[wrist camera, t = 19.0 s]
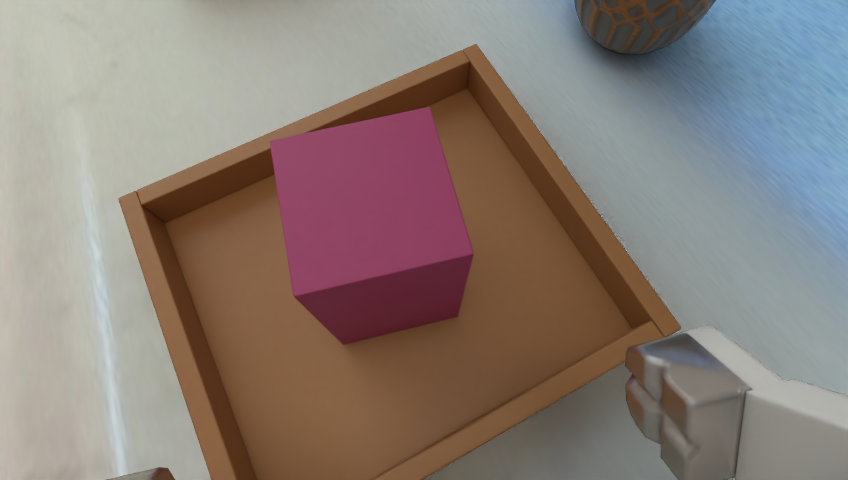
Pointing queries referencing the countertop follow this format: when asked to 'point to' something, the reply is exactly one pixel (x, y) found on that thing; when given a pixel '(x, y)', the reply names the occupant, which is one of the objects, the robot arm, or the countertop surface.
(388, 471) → the tray
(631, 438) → the countertop surface
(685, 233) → the countertop surface
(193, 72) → the countertop surface
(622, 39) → the vase
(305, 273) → the pink block
